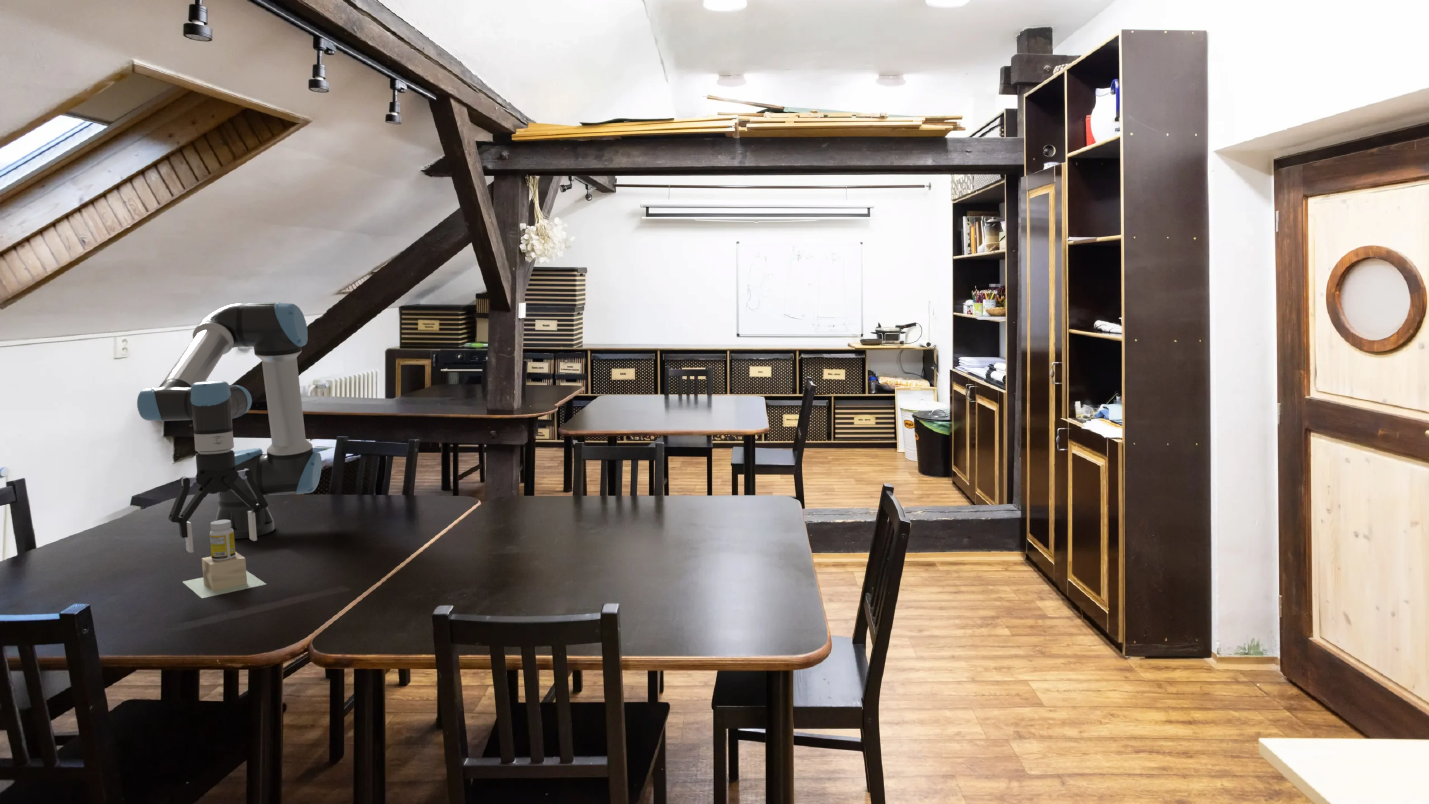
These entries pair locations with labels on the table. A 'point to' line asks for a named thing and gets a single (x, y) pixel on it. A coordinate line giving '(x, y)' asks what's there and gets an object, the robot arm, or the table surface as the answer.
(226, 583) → the beech block
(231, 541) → the supplement bottle
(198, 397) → the robot arm
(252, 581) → the board
